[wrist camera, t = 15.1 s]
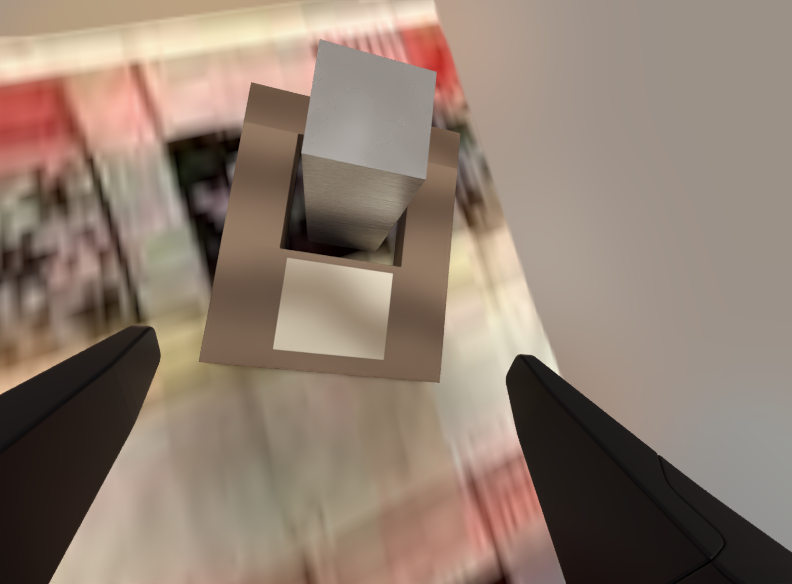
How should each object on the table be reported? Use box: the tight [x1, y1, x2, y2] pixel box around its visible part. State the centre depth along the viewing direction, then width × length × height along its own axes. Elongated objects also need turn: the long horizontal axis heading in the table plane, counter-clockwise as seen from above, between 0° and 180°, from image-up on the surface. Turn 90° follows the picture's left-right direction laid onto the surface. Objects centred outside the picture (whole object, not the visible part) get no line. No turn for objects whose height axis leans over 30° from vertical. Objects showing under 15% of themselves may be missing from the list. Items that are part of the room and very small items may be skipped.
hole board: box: [199, 82, 460, 383], centre depth 22 cm, size 16×13×3 cm
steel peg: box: [301, 39, 437, 252], centre depth 18 cm, size 4×4×11 cm
